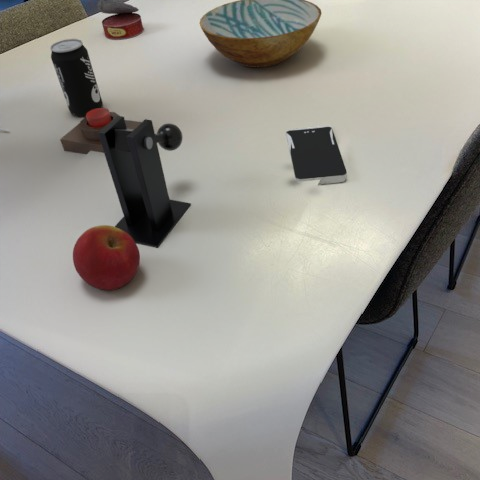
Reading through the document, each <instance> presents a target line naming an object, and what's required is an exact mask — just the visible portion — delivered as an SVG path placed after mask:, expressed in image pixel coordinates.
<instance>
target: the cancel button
mask: <svg viewBox="0 0 480 480" xmlns="http://www.w3.org/2000/svg"><path fill="white" fill-rule="evenodd" d="M110 112H111V111H110V110H109V109H108V108H106V107H101V108H96V109H93V110H91V111H89V112H88V113H87V114H86V118H87V121H88V124H89V126H90V127H95V128H96V127H103V126H105V125H107V124H108V123H110V122H111V121H112V119H111V115H110Z"/></svg>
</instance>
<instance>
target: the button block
mask: <svg viewBox="0 0 480 480" xmlns="http://www.w3.org/2000/svg"><path fill="white" fill-rule="evenodd" d="M109 112H110V115H111V119H112V120H113V119H114V118H115V117H116V116H121V115H120V114H118V113H117V112H115V111H109ZM142 122H143V121H139V120H138V121H137V120H130V119H129V120H128V119H125V123H126V127H127V129H135V128H136V127H137V126H138V125H139V124H140V123H142ZM105 126H106V125H105ZM105 126H103V127H96V128H95V127H90V126H89V124H88V121H87V118H86V117H83V118H82V119H81V120H80V122H79V123H78V124H77V125H75V126H74V127H73V128H72V129H71V130H70V131H68V132H67V133H66V134H65V135H63V136H62V137H61V138H60V139H59V141H60V143H61V146H62V148H63V150H64V152H69V153H76V154H81V155H88V154H89V153H90V152H96V153H97V152H98V153H103V154H104V151H103V148H102V144H101V141H100V138H99V135H98V132H99V131H100V130H102V129H103V128H104V127H105Z"/></svg>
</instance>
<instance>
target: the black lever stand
mask: <svg viewBox="0 0 480 480" xmlns="http://www.w3.org/2000/svg"><path fill="white" fill-rule="evenodd" d="M125 120H126V119H125V116H122V115H120V116H116V117H115V118H114V119H113V120H112V121H111V122H110V123H108V124H107V125H106V126H105V127H104V128H103V129H102V130H100V131H99V132H98V135H99V138H100V141H101V144H102V148H103V151H104V153H103V154H104V157H105V161H106V163H107V167H108V170H109V173H110V175H111V180H112V182H113V183H112V184H113V186H114V188H115V192H116V195H117V198H118V202H119V205H120V207H121V212H122V214H123V216H122V218H121V219H120V220H119V221H118V222H117V223H116V224H115V226H114V227H117V228H119V229H121V230H123V231H125V232H126V233H128V234H129V235H130V236H131V237H132V238H133V240H134V242H135V243H136V245H137V244H138V245H143V246H147V247H151V248H156V249H159V247H160V246H161V245H162V243H163V242H164V241H165V239H167V237H168V235H170V233H171V232H172V230H173V229H174V228H175V226H176V225H177V224H178V223H179V221H180V220H181V219H182V218H183V216H184V215H185V214H186V212H187V211H188V210H189V209H190V207H191V206H192V203H190V202H185V201H180V200H175V199H170V196H169V191H168V185H167V181H166V178H165V173H164V169H163V164H162V159H161V156H160V150H159V148H158V146H159V145H158V143H157V142H156V137H155V134H156V133H155V129H154V124H153V120H152V119H147V118H145V119H143V121H141V122H142V123H140V124H139V125H138V126H137V127H136V128H135V129H134V130H133V131H132V132H131V133H130V134H129V135H128V136H127V141H128V145H129V148H130V152H125V151H118V150H115V129H127V127H126V123H125Z"/></svg>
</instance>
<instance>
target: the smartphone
mask: <svg viewBox="0 0 480 480" xmlns="http://www.w3.org/2000/svg"><path fill="white" fill-rule="evenodd" d="M285 136H286V142H287V146H288V151H289V156H290V161H291V165H292V170H293V175H294V179H295V181H297V182H307V181H317V180H319V181H318V184H317V185H318V186H319V185H328V184H338V183H340V184H341V183H344V182H346V180H347V173H348V171H347V168H346V164H345V162H344V159H343V156H342V154H341V150H340V147H339V145H338V141H337V138H336V136H335V132H334V129H333V127H332V126H331V125H317V126H310V127H308V126H307V127H299V128H298V127H297V128H290V129H287V130H286V131H285Z"/></svg>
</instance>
